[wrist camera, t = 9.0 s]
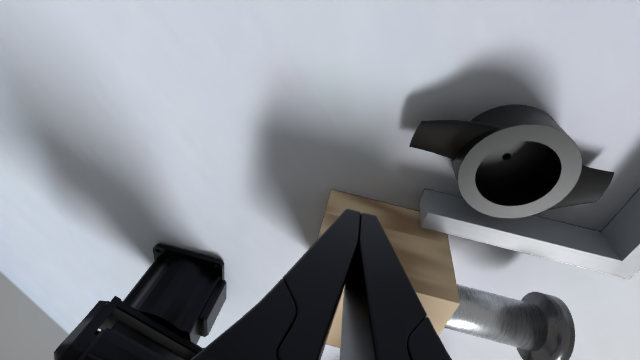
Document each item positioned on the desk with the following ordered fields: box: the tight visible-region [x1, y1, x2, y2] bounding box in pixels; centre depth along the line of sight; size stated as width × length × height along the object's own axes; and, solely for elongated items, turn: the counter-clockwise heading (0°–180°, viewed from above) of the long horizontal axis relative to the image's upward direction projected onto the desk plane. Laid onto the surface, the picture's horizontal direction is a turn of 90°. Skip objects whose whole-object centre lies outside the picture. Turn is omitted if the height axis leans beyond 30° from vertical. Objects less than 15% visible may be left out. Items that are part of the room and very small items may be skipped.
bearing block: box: [318, 190, 460, 348], centre depth 23 cm, size 8×7×7 cm
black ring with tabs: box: [409, 105, 614, 218], centre depth 19 cm, size 8×10×3 cm
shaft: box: [444, 284, 575, 360], centre depth 22 cm, size 12×4×4 cm, turn 80°
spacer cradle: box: [419, 189, 640, 279], centre depth 17 cm, size 13×16×2 cm
